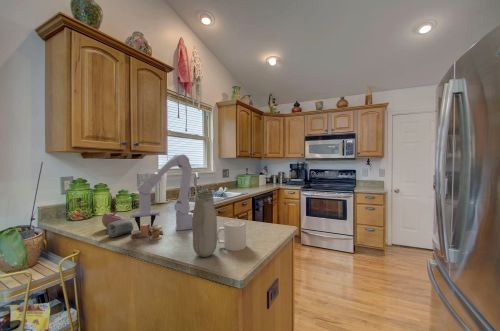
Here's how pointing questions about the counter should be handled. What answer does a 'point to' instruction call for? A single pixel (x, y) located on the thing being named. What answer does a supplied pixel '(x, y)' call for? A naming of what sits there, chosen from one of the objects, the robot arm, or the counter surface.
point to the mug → (233, 235)
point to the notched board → (138, 233)
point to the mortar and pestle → (110, 218)
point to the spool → (119, 227)
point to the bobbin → (155, 232)
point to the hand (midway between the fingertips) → (145, 229)
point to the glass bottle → (204, 224)
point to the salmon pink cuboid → (145, 230)
